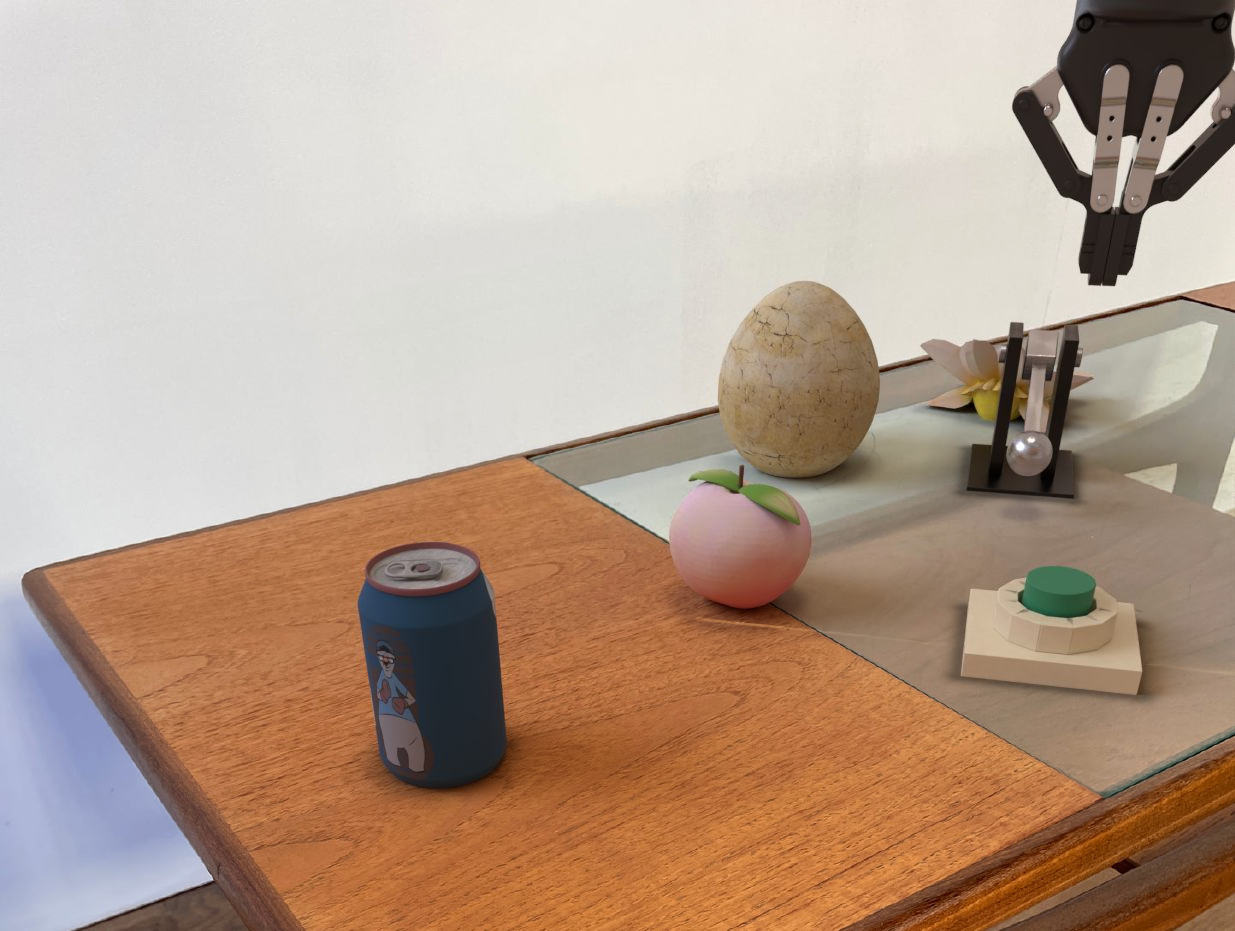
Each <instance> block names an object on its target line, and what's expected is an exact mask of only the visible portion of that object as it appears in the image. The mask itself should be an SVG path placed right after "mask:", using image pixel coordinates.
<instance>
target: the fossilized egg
mask: <svg viewBox="0 0 1235 931" xmlns="http://www.w3.org/2000/svg"><path fill="white" fill-rule="evenodd" d="M748 312H749V313H747V315H746V316H745V317H744V319H743V320H742V321H741V322H740V324H739V325H738V327H737V329H736V330H735V332H734V333H733V335H732V337H731V339H730V341H729V343H728V345H727V347H726V351H725V353H724V355H723V358H722V362H721V366H720V371H719V374H718V382H717V383H718V384H717V404H718V405H717V406H718V411H719V416H720V421H721V423H722V425H723V428H724V430H725V433H726V435H727V438H728V440H729V441H730V442H731V444H732V446H733V448H734V449H735V450H736V451H737V453H738V454H739V455H740V456H741V458H743V459H744V460H745V461H746V462H748V463H749V464H750V465H751V466H752V467H754V468H755V469H756V470H758V471H760V472H762V473H764V474H766V475H770V476H774V477H778V478H779V477H780V478H787V479H805V478H812V477H817V476H820V475H824V474H826V473H829V472H830V471H832V470H834V469H836V468H837V467H838V466H840V465H841V464H842V463H844V462H845V461H846V460H847V459H848V458H849V457H850V456H851V455H852V454H853V453H854V452H855V451H856V450H857V448H859V446H860V445H861V444H862V442H863V441H864V439H865V437H866V436H867V434H868V432H869V430H870V428H871V426H872V424H873V421H874V418H875V415H876V412H877V408H878V405H879V400H880V392H881V391H880V388H881V377H880V368H879V360H878V356H877V354H876V353H877V352H876V350H875V347H874V343H873V341H872V338H871V336H870V334H869V331H868V330H867V327H866V325H865V323H863V321H862V320H861V318H860V316H859V314H858V313H857V312H856V310H855V309H854V308H853V307H852V306H851V305H850V303H849V302H848V301H847V300H846V299H845V298H844V297H843V296H842V295H840V293H838V292H836V291H835V290H834V289H832V287H829V286H827V285H824V284H821V283H820V282H816V281H812V280H797V281H792V282H789V283H786V284H784V285H781V286H779V287H776V288H775V289H774V290H772V291H771V292H769V293H768V294H766V295H765V296H764V297H763V298H761V300H759V302H758V303H756V304H755V305H754V306H753V308H751V310H750V311H748Z"/></svg>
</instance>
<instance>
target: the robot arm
mask: <svg viewBox="0 0 1235 931" xmlns="http://www.w3.org/2000/svg"><path fill="white" fill-rule="evenodd" d="M1234 16H1235V0H1076V2H1075V10H1074V16H1073V21H1072V26H1071V29H1070V32H1069V34H1068V36H1067V38H1066V39H1065V40H1064V42H1063V43H1062V45H1061V47H1060V48H1059V51H1058V53H1057V58H1056V65H1055V66H1054V67H1053V68H1051V69H1050V70H1049V71H1047V72H1046V73H1045V74H1044V75H1042V76H1041V77H1040V78H1038V79H1036V81H1035V82H1033V83H1032V84H1030V85H1025V86H1022V87H1020V88H1019V89H1018V90H1016V92H1015V93H1014V95H1013V100H1012V104H1011V110H1012V112H1013V115H1014V117H1015V118H1016V121H1018V124H1019V126H1020V127H1021V129H1022V131H1023V132H1024V134H1025V136H1026V138H1027V139H1028V141H1029V143H1030V144H1031V145H1030V146H1032V148H1033V150H1034V152H1035V154H1036V155H1037V157H1038V159H1039V161H1040V162H1041V164H1042V166H1043V168H1044V169H1045V171H1046V173H1047V175H1048V176H1049V178H1050V180H1051V182H1052V183H1053V186H1054V187H1055V189H1056V191H1057V192H1058V194H1059V195H1060V197H1062V198H1064V199H1070V200H1073V201H1075V202H1077V203H1079V204H1081V205H1082V206H1083V207H1084V208H1085V211H1086V212H1085V219H1084V224H1083V229H1082V235H1081V242H1080V246H1079V252H1078V258H1077V261H1078V262H1077V264H1078V268H1079V273H1080V274H1083V275H1087V286H1093V287H1094V286H1095V287H1101V286H1102V287H1116V285H1117V282H1118V276H1128V274H1129V273H1130V271H1131V269H1132V268H1133V266H1134V261H1135V257H1136V251H1137V246H1138V242H1139V236H1140V231H1141V227H1142V222H1143V219H1144V215H1145V213H1146V212H1147V211H1148V210H1149V209H1150V208H1152V207H1153V206H1155V205H1159V204H1162V203H1165V202H1171V203H1173V202H1177V201H1179V200H1181V199H1182V198H1183V197H1184V196H1185V195H1186V194H1187V193H1188V192H1189V191H1190V190H1191V189H1192V188H1193V187H1194V186H1195V185H1196V184H1197V183H1198V182H1199V181H1200V180H1201V179H1202V178H1203V177H1204V176H1205V175H1206V174H1207V173H1208V172H1209V171H1210V170H1211V169H1212V168H1213V167H1214V166H1215V165H1216V164H1217V163H1218V161H1220V160H1221V159H1222V158H1223V157H1224V156H1225V155H1226V154H1227V153H1228V152H1229V151H1230V150H1231V149H1232V148H1233V147H1234V146H1235V69H1234V65H1235V45H1234V41H1233V36H1232V35H1233V34H1232V28H1233V27H1232V26H1233V22H1234V21H1233V20H1234ZM1062 87H1064V88H1065V92H1066V93H1067V95H1068V97H1069V99H1070V101H1071V103H1072V105H1073V108H1074V109H1075V111H1076V113H1077V115H1078V117H1079V119H1080V121H1081V123H1082V125H1083V127H1084V128H1085V129H1086V130H1087V132H1088V133H1090V134H1091V135H1093V136H1094V144H1093V155H1092V166H1091V174H1090V173H1088V172H1085V171H1083V170H1081V169H1079V166H1078V165H1077V164H1076V161H1075V160H1074V158H1073V156H1072V154H1071V152H1070V150H1069V148H1068V147H1067V145H1066V143H1065V141H1064V139H1063V138H1062V136H1061V134H1060V132H1059V130H1058V129H1057V127H1056V125H1055V123H1054V121H1055V120H1056V119H1057V117H1059V114H1060V112H1061V101H1060V99H1059V93H1060V91H1061V88H1062ZM1217 89H1218V94H1217V97H1216V98H1215V100H1214V102H1212V105H1211V107H1210V110H1209V115H1210V118H1211V120H1212V122H1211V123H1210V125H1209V126H1208V127H1207V128H1206V129H1205V130H1204V131H1203V132H1202V133H1201V134H1200V135H1199V136H1198V137H1197V138H1196V139H1195V140H1194V141H1193V142H1192V143H1191V144H1190V145H1189V146H1188V147H1187V148H1186V149H1185V150H1184V151H1183V152H1182V153H1181V154H1180V155H1179V156H1178V158H1177V159H1175V161H1173V163H1172V164H1171V165H1169V167H1168V168H1167V169H1165V171H1163V172H1160V173H1157V170H1158V167H1159V165H1160V162H1161V159H1162V156H1163V151H1164V148H1165V144H1166V142H1167V141H1166V140H1167V138H1168V137H1170V136H1172V135H1173V134H1175V133H1176V132H1178V131H1179V130H1180V129H1181V128H1182V127H1183V126H1184V125H1185V124H1186V123H1187V122H1188V121H1189V119H1190V118H1192V117H1193V115H1194V114H1195V113H1196V112H1197V111H1198V109H1200V107H1201V106H1202V105H1203V104H1204V103H1205V102H1206V101H1207V100H1208V99H1209V98H1210V96H1211V95H1212V94H1213V93H1214V92H1215V90H1217ZM1126 137H1135V140H1134V143H1133V147H1132V152H1131V157H1130V161H1129V164H1128V169H1127V173H1126V176H1125V180H1124V184H1123V186H1122V187H1123V188H1122V191H1121V194H1120V199H1119V204H1118V206H1113V205H1114V203H1115V197H1116V190H1117V189H1116V188H1117V181H1118V180H1117V178H1118V171H1119V163H1120V158H1121V149H1122V142H1123V138H1126Z"/></svg>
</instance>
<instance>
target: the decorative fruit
mask: <svg viewBox="0 0 1235 931" xmlns="http://www.w3.org/2000/svg"><path fill="white" fill-rule="evenodd" d="M744 473H745V465H744V464H740V465H739V466H738V474H736V473H735V472H733V471H731V470H728V469H724V468H710V469H705V470H698V471H696V472H694V473H693V474H691V475H690V477H689V479H688V482H691V483H692V482H696V481H698V480H700V481H703V482H701V483H699V484H697V485H696V486H694V487H693V488H692V489H691V490H690V491H689V492H688V493H687V495H686V496H685V497H684V498H683V500H682V501H681V502H680V504H679V505H678V506H677V509H676V510H675V512H674V514H673V516H672V518H671V521H670V524H669V528H668V529H669V530H668V543H669V550H670V555H671V558H672V561H673V564H674V566H675V568H676V571H677V572H678V574H679V576H680V578H681V579H682V580H683V582H684V583H685V584H686V585H687V586H688V587H689V588H690V589H691V590H692V591H693V592H695V593H696V594H698V595H699V596H701V597H703V598H705V599H707V600H709V601H711V602H712V601H713V602H715V603H718V604H722V605H725V606H728V607H731V608H735V609H740V610H741V609H742V610H747V609H748V610H749V609H755V608H759V607H762V606H765V605H767V604H769V603H771V602H773V601H774V600H776V599H777V598H778V597H780V596H781V595H783V594H784V593H785V592H787V590H789V589H790V588H791V587H792V586H793V585H795V584H794V583H795V582H796V581H797V580H798V579H799V577H800V576H801V574H802V573H803V571H804V569H805V568H806V566H807V563H808V560H809V558H810V555H811V549H812V528H811V523H810V521H809V519H808V515H807V514H806V511H805V510H804V508H803V506H802V505H801V504H800V503H799V502H798V501H797V499H796V498H795V497H793V496H792V495H791V494H790V493H789V492H787V491H786V490H784V489H782V488H781V487H780V488H779V487H776V486H774V485H770V484H763V483H751V482H749V481H748V480H747V479H744V475H745V474H744Z"/></svg>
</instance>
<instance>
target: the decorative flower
mask: <svg viewBox="0 0 1235 931" xmlns="http://www.w3.org/2000/svg"><path fill="white" fill-rule="evenodd" d="M1004 344H1007V342H1006V343H1004ZM919 347H920V348H921V349H922V350H923V351H924V352H925V353H926V354H927V355H928V356H929V357H930V358H931V359H932V360H933V361H934V362H935V363H937V364H938V365H939V366H940V367H941V368H943V369H944V370H945V371H947V373H949V374H950V375H952V376H953V377H954V378H956V379H957V380H958V381H960V382H962V383H963V384H965V385H963V386H960V387H956V388H954V389H950V390H948V391H946V392H944V393H942V394H941V395H939V396H937V397H935V398H933V399H932V400H931V401H929V402H926V403H925V405H926V406H931V407H939V408H940V407H941V408H946V409H947V408H948V409H958V408H962V407H965V406H966V405H969V403H971V404H974V408H975V410H976V412H977V414H978V416H979V417H980V418H982V419H983V420H985V421H990V422H995V419H996V412H997V406H998V399H999V393H1000V386H1001V380H1002V373H1003V367H1004V363H998V359H999V352H1000V347H999V348H997V350H996V347H995V346H994V345H993V344H991V343H990V342H989V341H988V340H982V339H980V340H979V339H977V338H973V339H972V340H969V341H965V342H964V343H963V344H962V346H959V345H958V344H955V343H953V342H950V341H948V340H945V339H940V338H939V339H938V338H932V339H929V340H927V341H925V342H922V343H921V344H920V345H919ZM1024 354H1025V349H1024V348H1023V347H1022V349H1021V355H1020V361H1019V367H1018V374H1017V380H1016V386H1015V392H1014V399H1013V405H1012V411H1011V417H1010V422H1011V421H1014V420H1016V419H1018V418H1019V417H1022V419H1023V420H1024V421H1025V414H1026V406H1027V397H1028V388H1029V380H1022V370H1023V362H1024ZM1055 375H1056V371H1054V370H1053V375H1052V380H1051V381H1045V389H1044V398H1043V408H1042V417H1041V427H1040V432H1041V433H1045V432H1046V426H1047V420H1048V415H1049V409H1050V402H1048V400H1047V399H1051V398H1052V392H1053V387H1054V381H1055ZM1094 377H1095V375H1094V374H1090V373H1087V372H1085V371H1080V370H1074V373H1073V379H1072V384H1071V389H1070V391H1072V390H1075V389H1077V388H1078V387H1082V385H1085V384H1087V383H1089V382H1090V381H1093V380H1094V379H1095V378H1094Z"/></svg>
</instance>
